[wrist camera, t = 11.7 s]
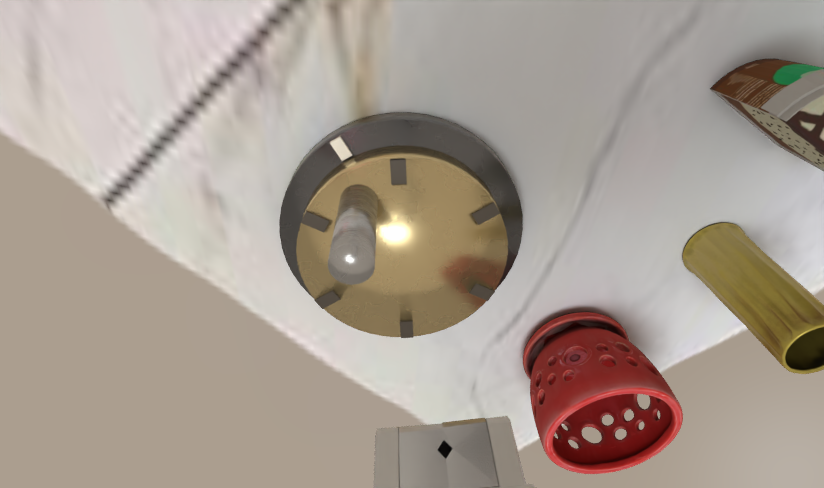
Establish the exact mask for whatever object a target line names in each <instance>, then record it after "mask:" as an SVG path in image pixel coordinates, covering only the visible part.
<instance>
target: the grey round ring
mask: <svg viewBox="0 0 824 488" xmlns="http://www.w3.org/2000/svg"><path fill="white" fill-rule="evenodd" d="M397 145H401V146H418V147H425V148H429V149H433V150H436V151H440V152H442V153H445V154H447V155H449V156H452V157H454V158H455V159H457V160H459V161H460V162H462V163H464V164H465V165H466V166H468V167H469V168H470V169H472V170H473V171H474V172H475V173H476V174H477V175H478V176H479V177H480V178H481V179H482V180H483V181H484V183H485V184H486V186H487V187H488V188H489V190H490V191H491V193H492V195H493V197H494V199H495V201H496V204H497V206H498V209H499V211H500V214H501V216H502V219H503V222H504V225H505V228H506V233H507V239H508V255H507V261H506V266H505V269H504V272H503V275H502V278H501V280H500V282H499V284H498V286H499V285H500V284H501V283H502V281H503V280H504V279H505V277H506V276H507V274H508V272H509V271H510V269H511V268H512V265H513V263H514V261H515V259H516V256H517V254H518V250H519V247H520V243H521V237H522V229H523V227H522V211H521V205H520V200H519V197H518V194H517V191H516V188H515V186H514V184H513V182H512V180H511V178H510V176H509V174H508V172H507V170H506V168H505V167H504V165H503V163H502V162H501V161H500V159H499V158H498V157H497V155H496V154H495V153H494V152H493V151H492V150H491V149H490V148H489V147H488V146H487V145H486V143H485V142H483V141H482V140H481V139H479V138H478V137H477V136H475V135H474V134H473V133H471V132H470V131H468V130H466V129H464V128H463V127H461V126H459V125H457V124H455V123H452V122H449V121H447V120H444V119H442V118H438V117H434V116H430V115H426V114H417V113H409V112H406V113H386V114H379V115H373V116H369V117H366V118H362V119H359V120H356V121H354V122H351V123H349V124H347V125H345V126H342V127H340V128H339V129H337V130H335V131H334V132H332V133H331V134H329V135H327V136H326V137H325V138H324V139H322V140H321V141H320V142H319V143H318V144H316V145H315V146H314V147H313V148H312V149H311V151H310V152H309V153H308V154H307V155H306V156H305V157H304V159H303V160H302V161H301V163H300V164H299V166H298V167H297V169H296V171H295V173H294V175H293V177H292V179H291V181H290V183H289V186H288V188H287V191H286V193H285V197H284V200H283V203H282V207H281V214H280V238H281V244H282V249H283V252H284V255H285V258H286V261H287V263H288V265H289V267H290V269H291V271H292V273H293V274H294V276H295V277H296V279H297V280H298V282H299V283H300V285H301V286H302V287H303V288H304V289H305V290H306V291H307V292H308V293H309V294H310V292H309V291H308V289H307V287H306V286H305V284H304V281H303V279H302V277H301V274H300V271H299V267H298V263H297V254H296V247H297V237H298V232H299V228H300V224H301V221H302V218H303V215H304V212H305V209H306V206H307V204H308V201H309V199H310V197H311V195H312V194H313V192H314V190H315V188H316V187H317V186H318V185H319V183H320V182H321V181H322V179H323V178H324V177H325V176H327V175H328V174H329V173H330V172H331V171H332V170H333V169H334V168H336V167H337V166H338V165H340V164H341V163H343V162H344V161H346V160H348V159H350V158H352V157H353V156H355V155H358V154H361V153H363V152H366V151H368V150H372V149H377V148H381V147H388V146H397ZM498 286H497V287H496V289H497V288H498ZM496 289H495V290H496ZM310 295H311V294H310ZM311 296H312V295H311ZM312 297H313V296H312Z"/></svg>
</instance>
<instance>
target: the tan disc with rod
mask: <svg viewBox="0 0 824 488" xmlns="http://www.w3.org/2000/svg"><path fill="white" fill-rule="evenodd" d="M296 254H297V263H298V267H299V271H300V274H301V277H302V279H303V281H304V284H305V286H306V287H307V289H308V291H309V292H310V294H311V295H312V296H313V298H314V299H315V301H316V303H317V304H318V305H319V306H320V307H321V308H322V309H325V310H326V311H327V312H328V313H329V314H331V315H332V316H333V317H335V318H336V319H338V320H340V321H341V322H343V323H345V324H347V325H349V326H351V327H353V328H356V329H358V330H361V331H364V332H368V333H371V334H376V335H381V336H390V337H401V338H410V337H413V336H420V335H425V334H430V333H434V332H437V331H440V330H444V329H446V328H448V327H451V326H453V325H455V324H457V323H459V322H461V321H462V320H464V319H466V318H467V317H469V316H470V315H471V314H473V313H474V312H475V311H476V310H478V309H479V308H480V307H481V306H482V305H483V304H484V303H485V302H486V301H488V300H489V298H490V297H491V296H492V295H493V293H494V292H495V289H496V287H497V286H498V284H499V282H500V280H501V278H502V275H503V272H504V269H505V266H506V261H507V255H508V239H507V233H506V228H505V225H504V222H503V219H502V216H501V214H500V211H499V209H498V206H497V204H496V201H495V199H494V197H493V195H492V193H491V191H490V190H489V188H488V187H487V186H486V184H485V183H484V181H483V180H482V179H481V178H480V177H479V176H478V175H477V174H476V173H475V172H474V171H473V170H472V169H470V168H469V167H468V166H466V165H465V164H464V163H462V162H460V161H459V160H457V159H455V158H454V157H452V156H449V155H447V154H445V153H442V152H440V151H436V150H433V149H429V148H425V147H418V146H401V145H397V146H388V147H381V148H377V149H372V150H368V151H366V152H363V153H361V154H358V155H355V156H353V157H352V158H350V159H348V160H346V161H344V162H343V163H341V164H340V165H338V166H337V167H336V168H334V169H333V170H332V171H331V172H330V173H329V174H328V175H327V176H325V177H324V178H323V179H322V181H321V182H320V183H319V185H318V186H317V187H316V188H315V190H314V192H313V194H312V195H311V197H310V199H309V201H308V204H307V206H306V209H305V212H304V215H303V218H302V221H301V224H300V228H299V232H298V237H297V247H296Z"/></svg>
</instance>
